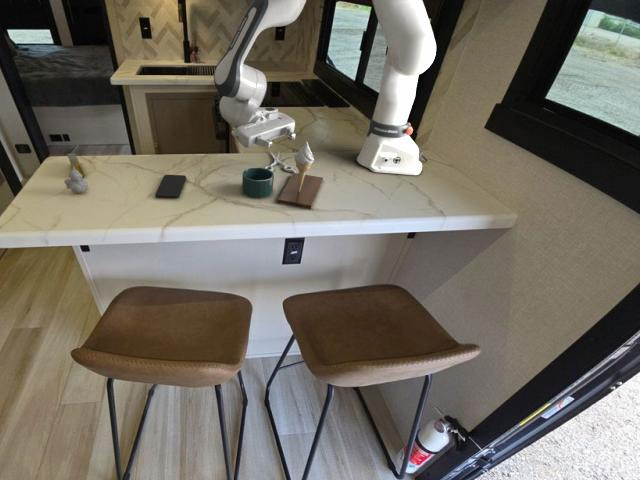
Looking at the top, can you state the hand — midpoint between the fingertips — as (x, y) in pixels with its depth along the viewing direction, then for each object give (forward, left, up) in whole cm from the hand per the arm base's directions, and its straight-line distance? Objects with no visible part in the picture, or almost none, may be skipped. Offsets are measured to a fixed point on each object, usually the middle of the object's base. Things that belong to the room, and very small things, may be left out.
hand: (282, 141), depth 103 cm
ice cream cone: (-9, +8, -11) cm, 16 cm away
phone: (+30, +18, -12) cm, 37 cm away
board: (-9, +5, -12) cm, 16 cm away
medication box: (+65, +19, -13) cm, 69 cm away
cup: (+4, +10, -12) cm, 16 cm away
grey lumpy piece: (+55, +31, -13) cm, 64 cm away
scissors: (+4, -14, -12) cm, 19 cm away
